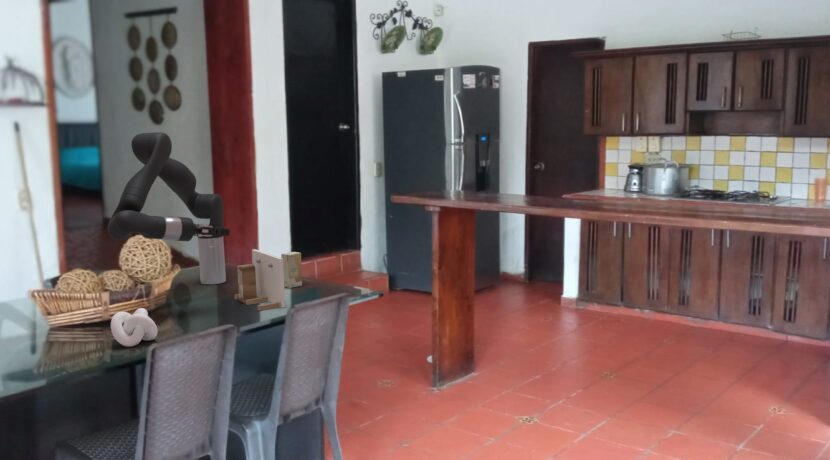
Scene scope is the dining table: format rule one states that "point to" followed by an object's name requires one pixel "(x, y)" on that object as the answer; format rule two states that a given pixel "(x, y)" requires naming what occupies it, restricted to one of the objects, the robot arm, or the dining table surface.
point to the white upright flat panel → (268, 280)
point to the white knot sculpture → (133, 327)
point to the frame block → (246, 282)
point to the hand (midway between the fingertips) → (222, 231)
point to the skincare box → (292, 269)
